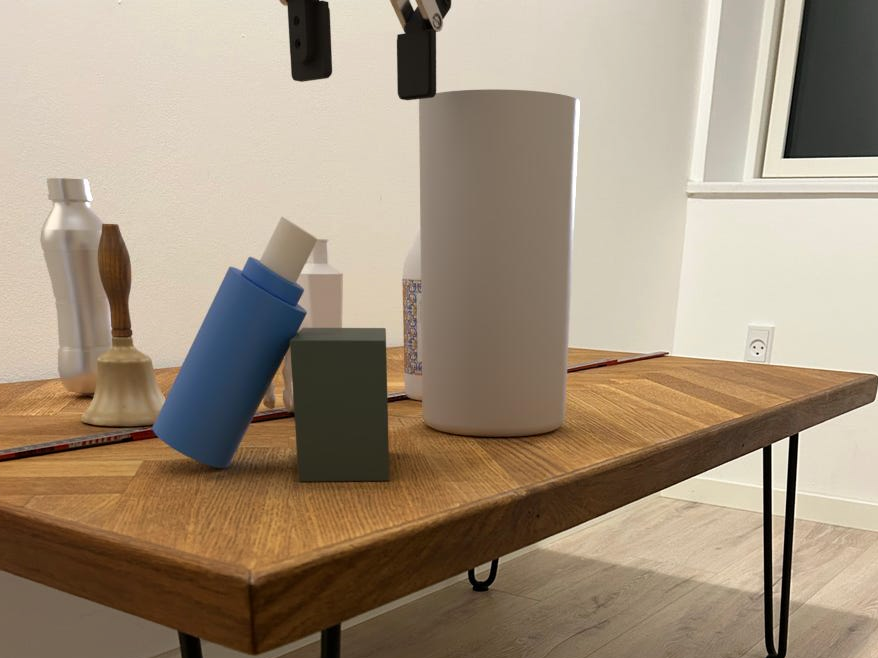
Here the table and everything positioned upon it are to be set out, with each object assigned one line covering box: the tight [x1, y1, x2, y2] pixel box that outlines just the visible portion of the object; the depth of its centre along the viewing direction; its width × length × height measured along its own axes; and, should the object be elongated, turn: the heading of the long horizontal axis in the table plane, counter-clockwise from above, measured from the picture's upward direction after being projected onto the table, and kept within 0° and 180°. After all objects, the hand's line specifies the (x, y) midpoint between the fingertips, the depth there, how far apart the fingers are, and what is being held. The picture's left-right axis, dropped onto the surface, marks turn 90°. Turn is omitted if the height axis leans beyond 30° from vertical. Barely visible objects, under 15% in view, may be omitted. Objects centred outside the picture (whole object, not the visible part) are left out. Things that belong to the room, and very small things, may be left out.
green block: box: [290, 327, 390, 483], centre depth 66 cm, size 6×10×9 cm, turn 5°
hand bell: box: [80, 223, 166, 427], centre depth 81 cm, size 8×8×16 cm
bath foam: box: [401, 230, 422, 402], centre depth 95 cm, size 7×7×20 cm
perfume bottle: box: [296, 238, 344, 331], centre depth 84 cm, size 5×4×15 cm
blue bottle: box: [152, 216, 318, 469], centre depth 64 cm, size 12×6×16 cm, turn 95°
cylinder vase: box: [418, 88, 580, 438], centre depth 78 cm, size 12×12×25 cm
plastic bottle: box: [39, 177, 112, 397], centre depth 93 cm, size 6×7×20 cm
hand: (367, 89), depth 63 cm, fingers open, 9 cm apart
